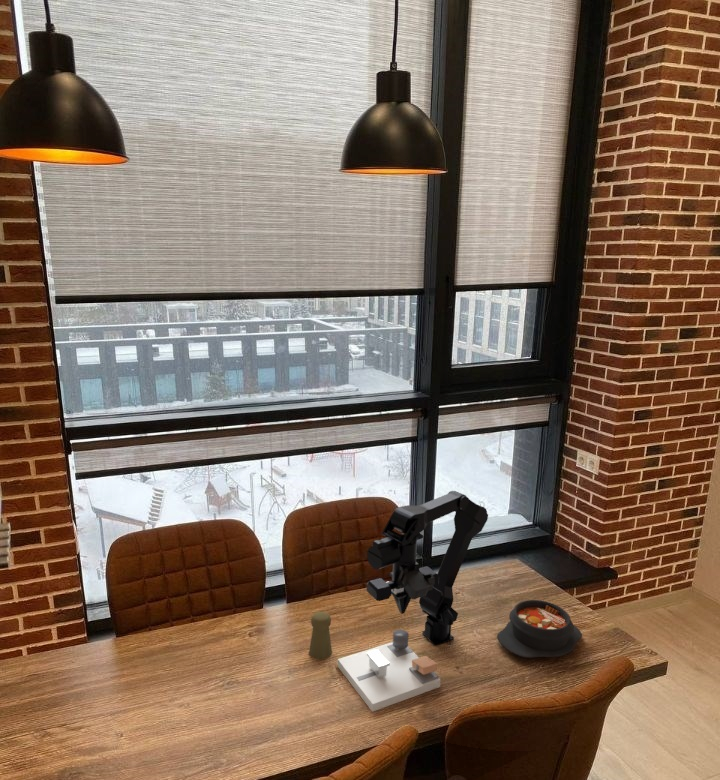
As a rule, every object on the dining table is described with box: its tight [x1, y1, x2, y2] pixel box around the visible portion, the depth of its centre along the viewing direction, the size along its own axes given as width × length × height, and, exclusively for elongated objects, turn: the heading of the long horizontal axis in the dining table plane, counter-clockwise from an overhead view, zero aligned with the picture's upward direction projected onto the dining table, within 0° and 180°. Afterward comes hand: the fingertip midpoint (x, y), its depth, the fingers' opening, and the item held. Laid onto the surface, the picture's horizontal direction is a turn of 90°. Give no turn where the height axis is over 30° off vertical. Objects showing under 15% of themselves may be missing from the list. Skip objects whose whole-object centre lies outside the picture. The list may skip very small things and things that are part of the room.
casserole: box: [496, 599, 583, 659], centre depth 169 cm, size 25×19×8 cm
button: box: [392, 629, 409, 649], centre depth 161 cm, size 4×4×3 cm
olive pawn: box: [308, 611, 333, 661], centre depth 161 cm, size 6×6×11 cm
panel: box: [337, 641, 442, 713], centre depth 153 cm, size 19×18×3 cm
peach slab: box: [412, 655, 438, 675], centre depth 151 cm, size 4×5×2 cm
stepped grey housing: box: [367, 650, 390, 678], centre depth 151 cm, size 3×6×4 cm, turn 28°
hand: (402, 612), depth 159 cm, fingers closed
